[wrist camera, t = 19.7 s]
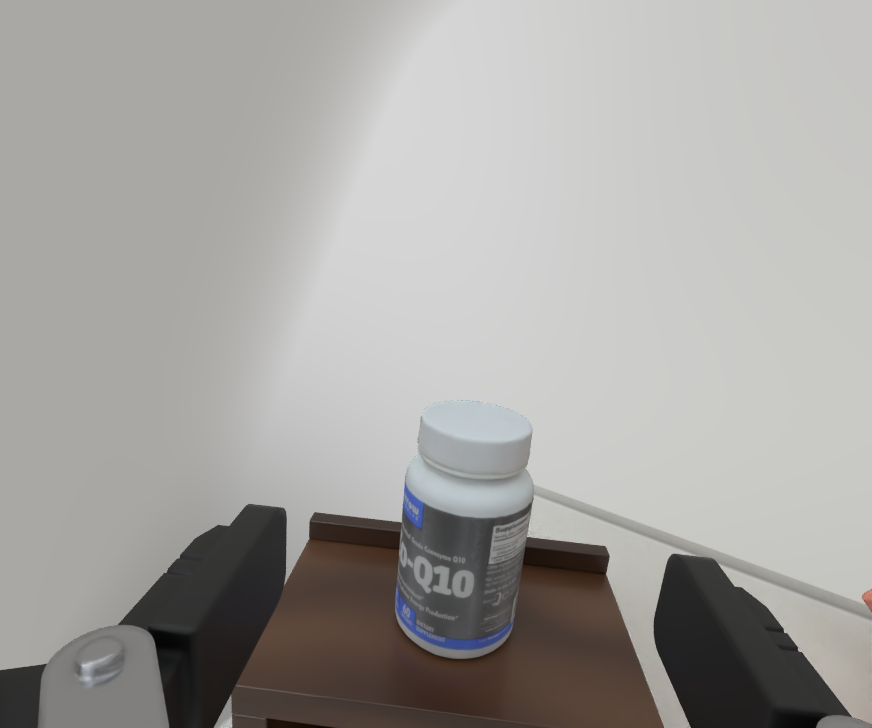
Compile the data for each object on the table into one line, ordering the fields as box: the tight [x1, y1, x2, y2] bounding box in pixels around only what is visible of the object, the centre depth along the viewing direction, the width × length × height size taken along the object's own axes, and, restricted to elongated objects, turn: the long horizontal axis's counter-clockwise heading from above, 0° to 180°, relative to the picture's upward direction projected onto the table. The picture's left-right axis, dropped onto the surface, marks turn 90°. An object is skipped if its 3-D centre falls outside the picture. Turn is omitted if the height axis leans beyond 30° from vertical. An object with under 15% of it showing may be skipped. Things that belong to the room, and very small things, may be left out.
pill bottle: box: [395, 400, 534, 659], centre depth 20 cm, size 5×5×8 cm
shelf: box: [231, 512, 664, 728], centre depth 22 cm, size 9×14×13 cm, turn 86°
